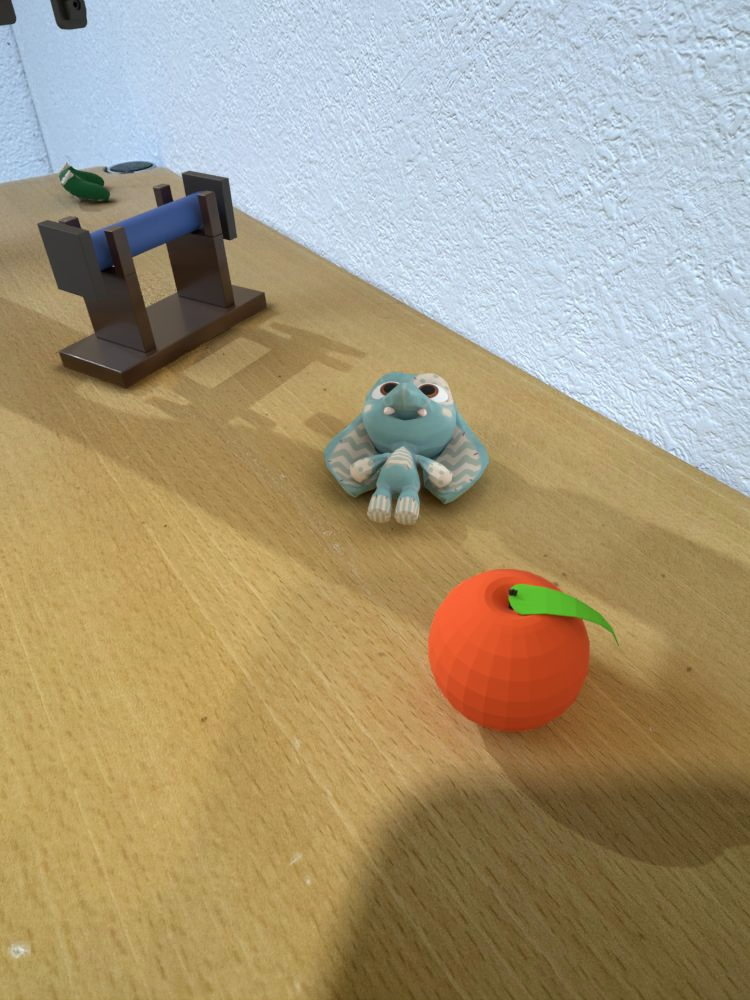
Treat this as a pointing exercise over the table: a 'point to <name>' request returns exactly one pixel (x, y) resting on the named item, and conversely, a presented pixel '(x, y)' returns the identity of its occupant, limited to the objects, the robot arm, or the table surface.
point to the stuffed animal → (406, 447)
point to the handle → (131, 235)
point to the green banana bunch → (83, 184)
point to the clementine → (511, 649)
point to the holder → (160, 303)
